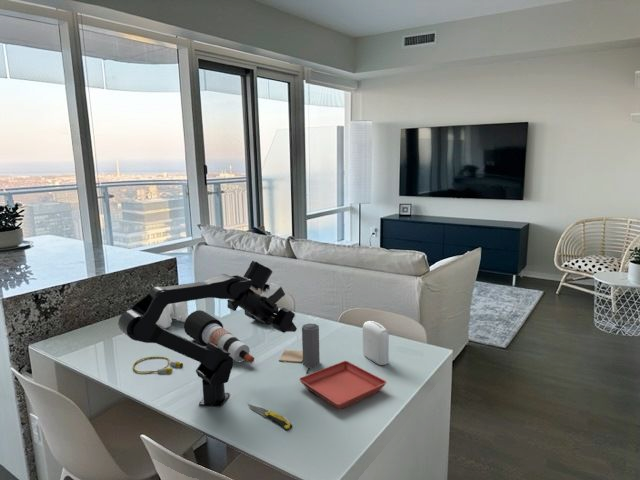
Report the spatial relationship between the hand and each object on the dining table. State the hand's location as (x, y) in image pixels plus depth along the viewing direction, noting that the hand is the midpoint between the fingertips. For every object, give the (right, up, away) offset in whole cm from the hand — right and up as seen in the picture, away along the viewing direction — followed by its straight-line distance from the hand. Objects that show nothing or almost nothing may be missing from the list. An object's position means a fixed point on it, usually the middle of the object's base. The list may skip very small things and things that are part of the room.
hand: (286, 325), depth 135 cm
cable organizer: (-51, -8, +45) cm, 69 cm away
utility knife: (-3, -20, -22) cm, 29 cm away
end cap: (-12, -7, +44) cm, 46 cm away
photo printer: (+28, -13, +9) cm, 32 cm away
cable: (-23, -12, +17) cm, 31 cm away
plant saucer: (+17, -17, -9) cm, 25 cm away
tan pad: (+1, -12, +12) cm, 17 cm away
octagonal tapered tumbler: (+8, -13, +6) cm, 17 cm away
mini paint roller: (+7, -14, +4) cm, 16 cm away
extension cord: (-42, -15, +7) cm, 45 cm away
